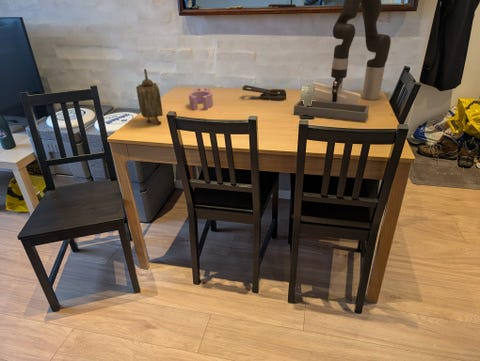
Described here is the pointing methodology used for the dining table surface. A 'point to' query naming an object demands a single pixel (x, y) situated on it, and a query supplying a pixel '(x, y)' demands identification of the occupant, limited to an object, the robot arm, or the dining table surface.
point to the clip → (201, 99)
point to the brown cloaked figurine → (149, 99)
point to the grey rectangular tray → (333, 110)
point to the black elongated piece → (268, 93)
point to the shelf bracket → (343, 95)
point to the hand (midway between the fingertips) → (335, 99)
